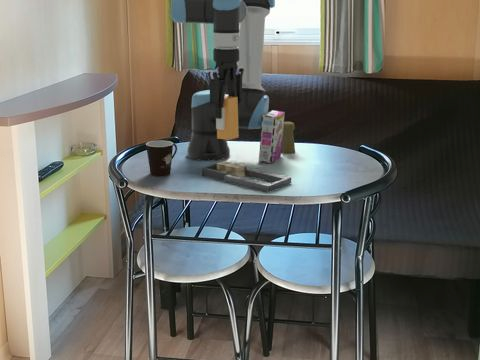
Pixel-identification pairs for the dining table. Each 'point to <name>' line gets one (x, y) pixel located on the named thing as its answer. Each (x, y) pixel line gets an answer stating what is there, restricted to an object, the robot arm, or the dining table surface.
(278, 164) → the dining table surface
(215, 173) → the frame
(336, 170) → the dining table surface
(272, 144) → the candy bar box
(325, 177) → the dining table surface
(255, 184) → the grey flat rectangular tray
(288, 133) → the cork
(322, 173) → the dining table surface
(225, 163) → the beige cube
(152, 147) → the coffee mug
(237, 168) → the tan wooden cube
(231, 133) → the orange rectangular block
